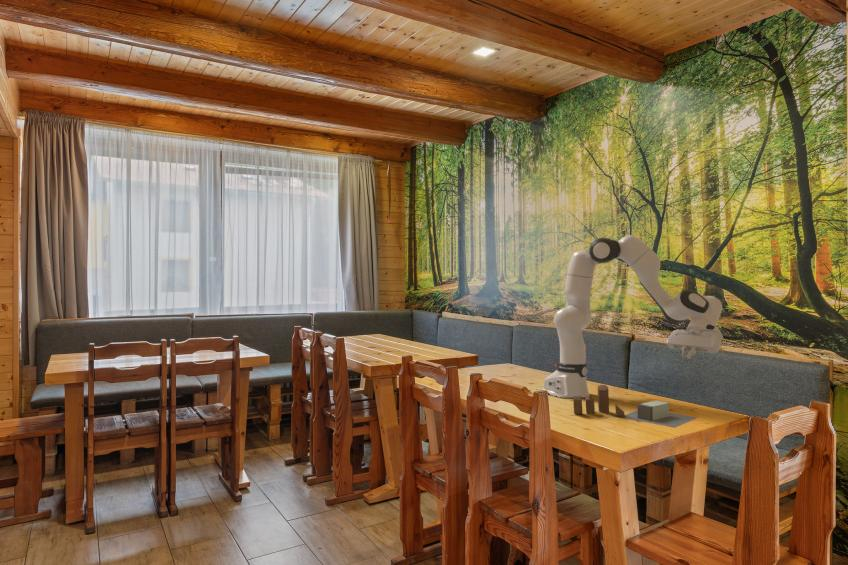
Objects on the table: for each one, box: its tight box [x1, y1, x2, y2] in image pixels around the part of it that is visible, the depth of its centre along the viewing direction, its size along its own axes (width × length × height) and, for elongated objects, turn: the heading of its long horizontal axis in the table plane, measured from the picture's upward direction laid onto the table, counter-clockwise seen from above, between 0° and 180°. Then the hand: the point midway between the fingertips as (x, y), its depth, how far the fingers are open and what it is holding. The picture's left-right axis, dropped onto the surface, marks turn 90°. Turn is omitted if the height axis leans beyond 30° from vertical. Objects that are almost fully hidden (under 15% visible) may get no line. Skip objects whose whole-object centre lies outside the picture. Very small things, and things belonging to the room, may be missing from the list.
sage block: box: [637, 399, 670, 421], centre depth 203 cm, size 5×5×12 cm
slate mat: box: [619, 409, 698, 428], centre depth 203 cm, size 20×20×1 cm
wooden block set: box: [572, 384, 626, 418], centre depth 208 cm, size 18×9×10 cm, turn 76°
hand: (685, 357), depth 215 cm, fingers closed
